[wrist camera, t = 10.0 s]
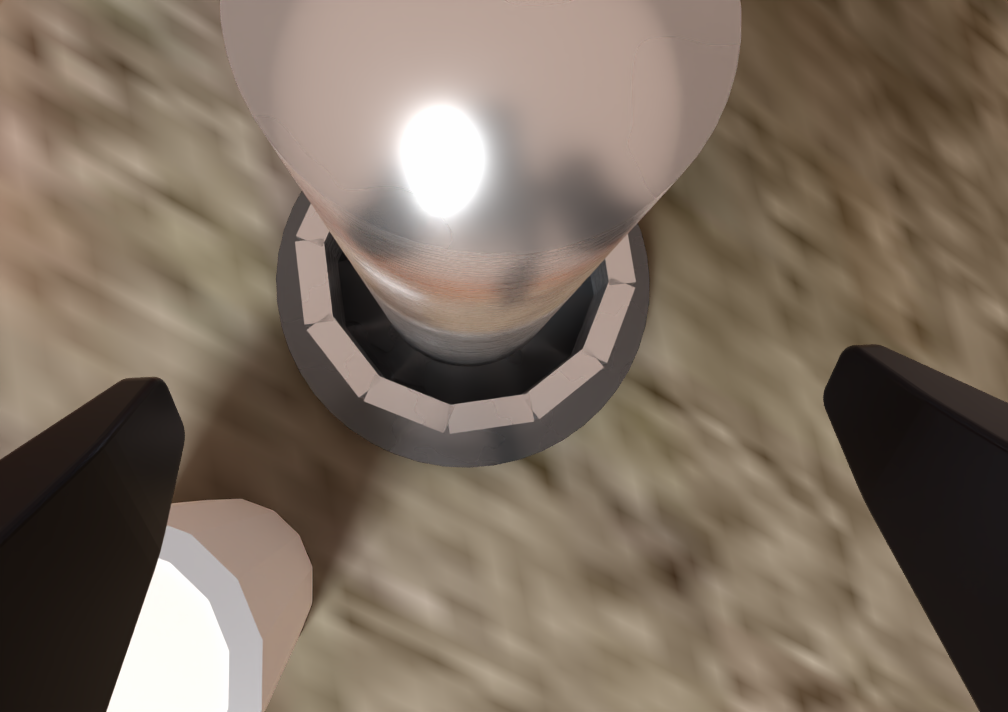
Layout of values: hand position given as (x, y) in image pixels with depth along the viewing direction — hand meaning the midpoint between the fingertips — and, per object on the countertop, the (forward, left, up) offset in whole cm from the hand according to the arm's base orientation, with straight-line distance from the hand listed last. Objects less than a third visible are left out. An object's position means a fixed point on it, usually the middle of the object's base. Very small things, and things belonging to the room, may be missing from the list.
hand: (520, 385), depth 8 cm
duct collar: (+4, -2, -12) cm, 13 cm away
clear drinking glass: (+3, -2, -11) cm, 12 cm away
